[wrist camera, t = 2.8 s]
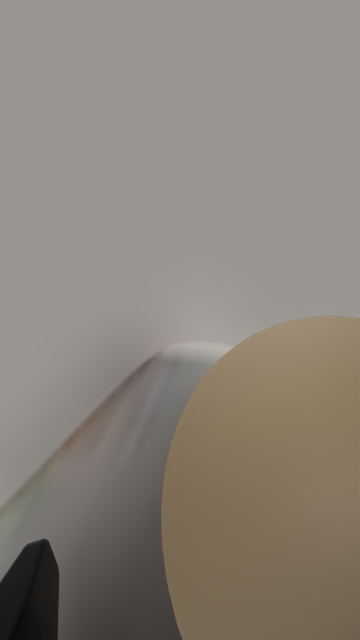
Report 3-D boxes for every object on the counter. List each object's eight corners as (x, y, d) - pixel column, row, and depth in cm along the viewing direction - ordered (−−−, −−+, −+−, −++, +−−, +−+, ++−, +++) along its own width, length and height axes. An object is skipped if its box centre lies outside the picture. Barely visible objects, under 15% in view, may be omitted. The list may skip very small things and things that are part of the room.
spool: (275, 527, 14) (748, 621, 3) (195, 587, 13) (406, 1178, 2) (224, 440, 16) (379, 269, 4) (148, 487, 14) (88, 420, 3)
